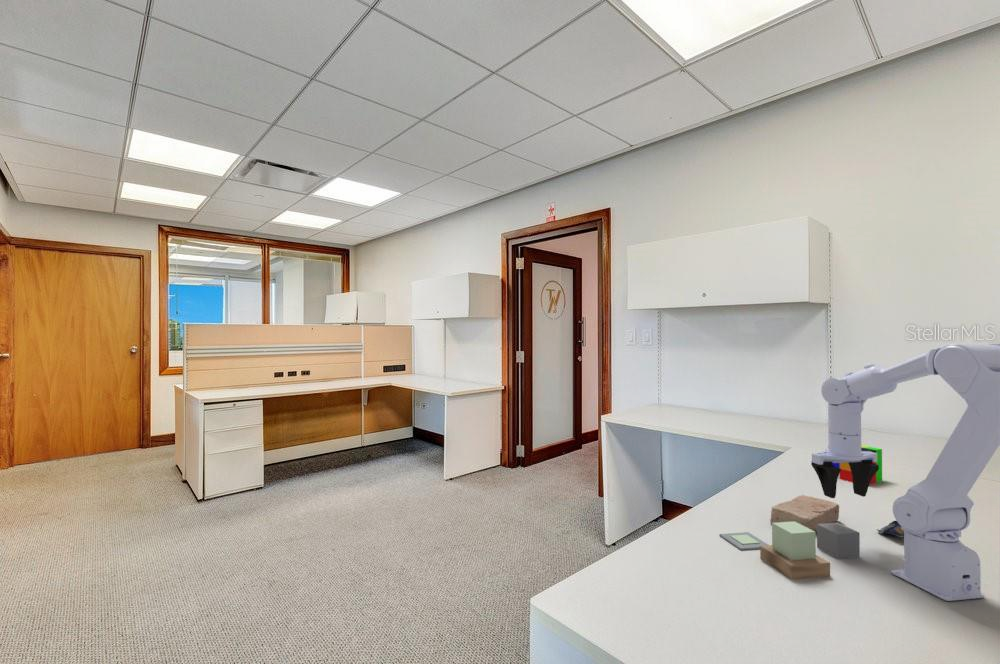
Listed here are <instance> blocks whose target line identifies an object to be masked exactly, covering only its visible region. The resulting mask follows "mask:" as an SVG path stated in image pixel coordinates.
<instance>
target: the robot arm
mask: <svg viewBox="0 0 1000 664" xmlns="http://www.w3.org/2000/svg"><path fill="white" fill-rule="evenodd" d="M932 375H933V376H937V375H938V376H940V377H941V378H942V380H944V381H945V382H946V383H947V384H948V385H949V386H950V387H951V388H952V390H954V391H955V392H956V393H957V394H958V395H959V396H960V397H961V398H962V399H963V400H964V401H965V402H966V404H967V408H966V409H965V411H964V413H963V414H962V416H961V418H960V420H959V421H958V423H957V424H956V427H955V428H954V430H953V431H952V433H951V435H950V436H949V437H948V440H947V441H946V443H945V445H944V446H943V449H941V452H940V453H939V455H938V457H937V458H936V459H935V462H934V464H933V465H932V466H931V469H930V471H929V472H928V474H927V475H926V478H925V479H923V480H921V481H920V482H918V483H916V484H914V485H913V486H911V487H910V488H908V490H907V491H906V492H905V494H904V495H902V496H900V497H897V498H896V499H895V500H894V502H893V503H892V504H893V505H892V513H893V516H894V518H895V521H897V522H898V523H899V525H900V526H901V529H902V530H904V537H903V539H904V540H903V547H904V548H903V554H904V555H903V558H904V559H903V560H904V561H903V565H904V566H903V568H902V569H893V570H891V571H890V572H891V574H892V575H894V576H896V577H898V578H900V579H902V580H904V581H906V582H908V583H910V584H912V585H915V587H918V588H920V589H922V590H924V591H926V592H928V593H930V594H932V595H934V596H936V597H938V598H939V599H942V600H943V601H946V602H951V601H952V602H953V601H961V600H962V601H963V600H972V599H973V600H974V599H980V598H985V594H984V593H982V592H981V586H982V585H981V583H982V581H981V560H980V557H979V555H978V553H977V552H976V551H975V550H973V549H972V548H970V547H968V546H966V545H965V544H964V543H963V542H962V541H961V540H960V538H961V537H962V531H964V530H966V529H967V528H968V527H969V525H970V523H971V511H972V508H973V506H974V505H975V503H974V501H973V500H972V498H970V496H969V495H968V494H969V493H970V491H971V490H972V488H973V487H974V485H975V483H976V482H977V480H978V479H979V477H980V476H981V475H982V472H983V471H984V469H986V467H987V465H988V464H989V462H990V460H991V459H992V457H993V456H994V454H995V453H996V451H997V450H998V448H999V446H1000V344H999V343H991V344H961V343H951V344H946V345H943V346H942V347H936V348H930V350H928V351H927V352H924V353H921V354H919V355H916V356H914V357H911V358H909V359H906V360H904V361H901V362H898V363H897V364H893V365H892V366H889V367H886V366H884V365H881V364H875V363H874V364H873V363H872V364H871V363H870V364H867V365H864V369H862V370H859V371H855V372H848V373H847V372H846V373H845V376H844V377H842V378H841V377H840V378H839V377H836V376H835V377H834V376H833V377H829V378H827V379H825V381H823V383H822V385H821V395H822V399H824V400H825V402H826V403H828V405H827V413H828V414H827V417H828V419H827V421H828V423H827V425H828V426H827V427H828V441H827V442H828V444H827V448H826V449H825V451H820V452H816V453H815V452H814V453H811V467H812V468H813V470H814V471H815V473H816V475H817V477H818V479H819V481H820V485H821V488H822V492H823V495H824V496H826V497H828V498H830V499H836V496H837V483H838V480H839V479H838V476H839V473H840V471H841V469H840V468H837V467H834V465H833V463H846V462H848V463H849V466H850V469H851V473H852V478H853V482H852V489H853V490H852V491H853V493H854V494H855V495H857V496H861V497H866V496H867V492H868V489H869V486H870V485H871V484H870V482H871V480H872V478H873V476H874V475H875V473H876V472H877V471H878V470H879V465H878V464H874V463H873V462H877V453H874V452H870V451H861V445H862V412H863V411H864V405H865V403H866V402H867V401H868V400H869V399H873V398H876V397H880V396H883V395H887V394H889V393H892V392H894V391H895V390H896V389H897V388H898V387H897V386H898V384H900V383H903V382H908V381H913V380H916V379H919V378H923V377H924V378H925V377H927V376H932Z"/></svg>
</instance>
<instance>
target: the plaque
mask: <svg viewBox="0 0 1000 664" xmlns="http://www.w3.org/2000/svg"><path fill="white" fill-rule="evenodd" d="M719 537H721V538H722V539H723V540H725V541H727V542H728V543H729V544H731V545H732V546H734V547H735V548H736V549H738V550H739V551H750V550H751V551H752V550H760V546H765V545H769V544H768V543H767V542H766V541H763V540H762V539H760V538H758V537H757V536H756V535H753V534H752V533H750V532H749V531H748V532H747V531H746V532H745V531H744V532H733V533H730V532H728V533H720V534H719Z"/></svg>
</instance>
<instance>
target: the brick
mask: <svg viewBox="0 0 1000 664" xmlns="http://www.w3.org/2000/svg"><path fill="white" fill-rule="evenodd" d="M770 513H771V514H770V523H771V525H772V523H778V522H793V521H795V522H797V523H799V524H801V525H803V526H805V527H807V528H809V529H811V530H813V531H815V532H817V524H825V523H837V521H838V520H839V517H840V505H839V504H838V503H836V502H834V501H831V500H827V499H822V498H818V497H814V496H807V495H804V494H802V495H798V496H796V497H794V498H791V500H787V501H784V502H780V503H778V504H775V505H773V506H772V507H771V511H770Z"/></svg>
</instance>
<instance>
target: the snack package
mask: <svg viewBox="0 0 1000 664" xmlns="http://www.w3.org/2000/svg"><path fill="white" fill-rule="evenodd" d="M876 531H877V532H878V533H879V534H880V535H883V534H888V535H893V536H898V537H902V538H904V530H902V529H901V526H900V525H899V523H898V522H897V521H896V520H892V522H891V521H890V523H888V524H887V525H886V526H883V527H881V528H880V529H877V528H876Z"/></svg>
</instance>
